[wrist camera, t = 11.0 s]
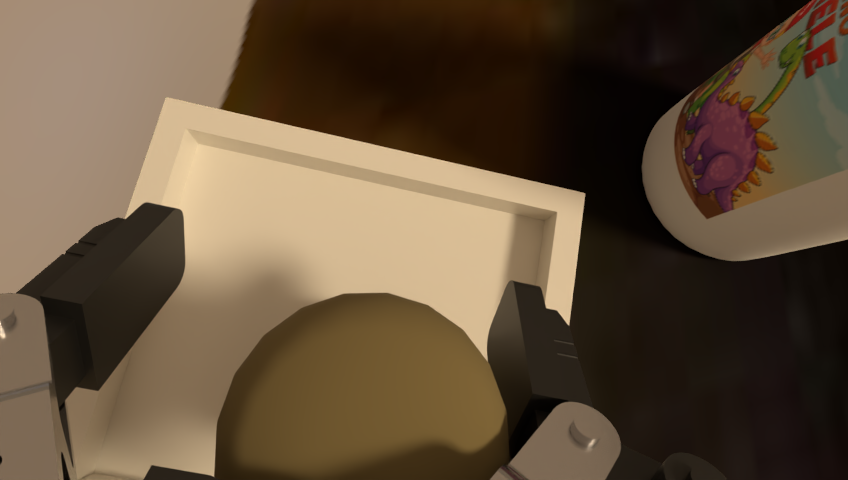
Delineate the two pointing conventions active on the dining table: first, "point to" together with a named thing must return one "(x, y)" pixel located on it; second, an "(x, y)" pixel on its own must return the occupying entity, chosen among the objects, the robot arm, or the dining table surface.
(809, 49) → the milk bottle
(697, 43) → the dining table surface
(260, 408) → the cork
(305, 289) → the tray
